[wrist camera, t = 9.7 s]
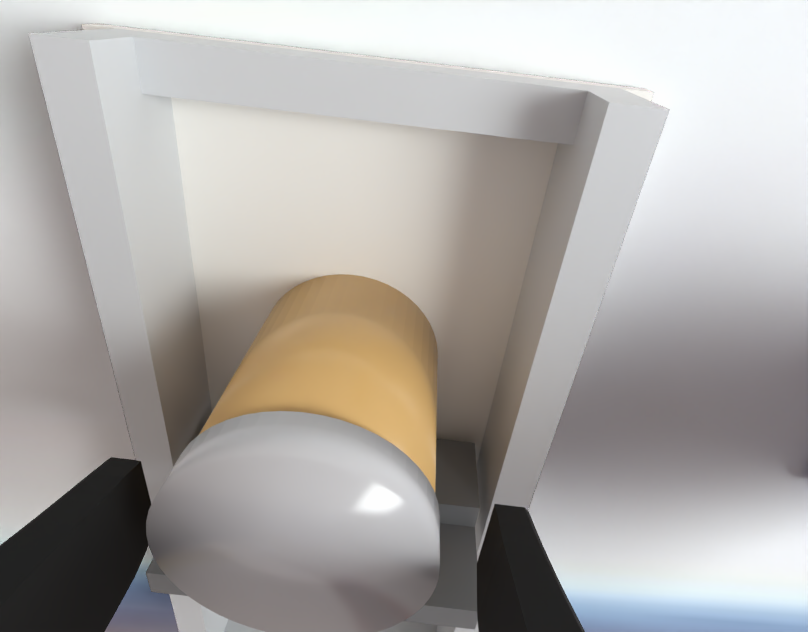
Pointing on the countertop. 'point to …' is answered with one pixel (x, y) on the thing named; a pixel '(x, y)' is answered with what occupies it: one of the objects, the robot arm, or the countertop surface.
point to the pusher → (457, 542)
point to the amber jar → (314, 470)
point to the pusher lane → (341, 224)
